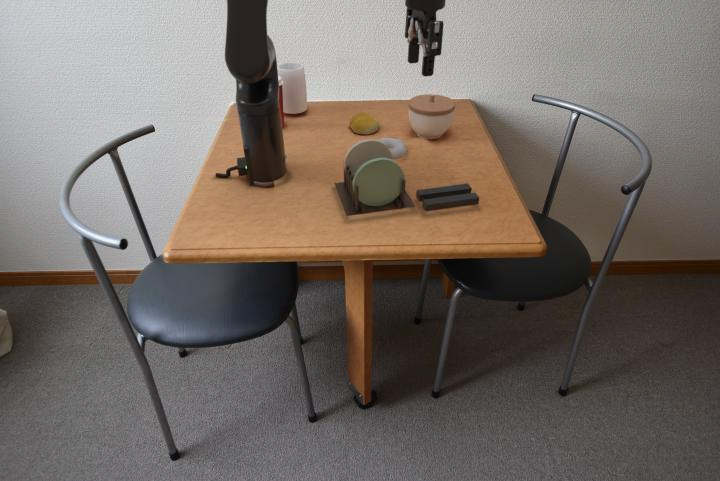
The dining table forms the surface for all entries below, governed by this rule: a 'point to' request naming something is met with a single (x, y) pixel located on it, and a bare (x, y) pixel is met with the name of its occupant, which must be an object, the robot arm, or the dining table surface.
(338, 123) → the dining table surface
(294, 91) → the cup
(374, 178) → the sage plate
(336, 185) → the dish rack
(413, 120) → the lidded bowl
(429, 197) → the plate stand
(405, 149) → the donut
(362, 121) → the bread roll
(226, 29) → the robot arm
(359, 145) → the cream plate
